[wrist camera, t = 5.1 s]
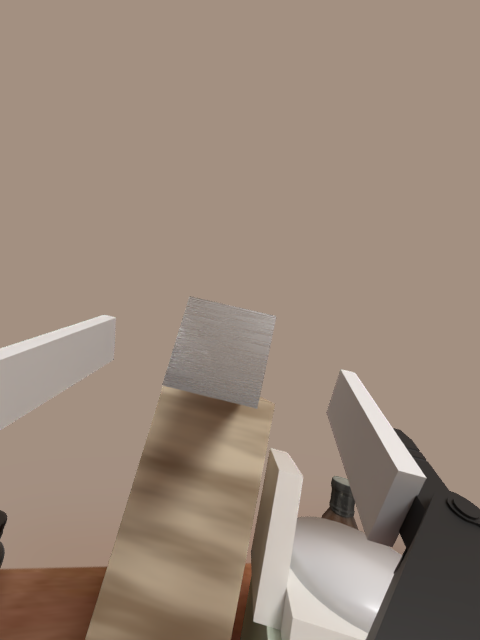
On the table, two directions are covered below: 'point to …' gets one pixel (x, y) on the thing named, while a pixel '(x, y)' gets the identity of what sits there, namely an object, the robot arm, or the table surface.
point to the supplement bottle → (0, 522)
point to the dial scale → (313, 566)
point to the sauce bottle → (341, 503)
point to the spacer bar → (221, 352)
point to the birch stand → (186, 523)
